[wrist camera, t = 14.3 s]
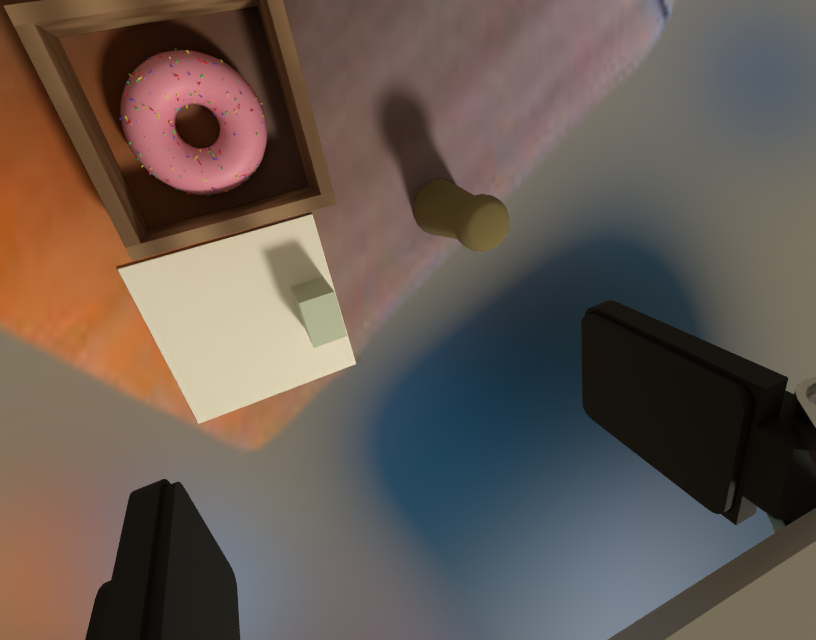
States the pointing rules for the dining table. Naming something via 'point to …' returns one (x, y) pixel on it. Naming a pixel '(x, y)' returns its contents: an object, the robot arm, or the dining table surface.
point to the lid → (243, 315)
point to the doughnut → (181, 86)
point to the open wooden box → (39, 30)
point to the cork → (461, 215)
